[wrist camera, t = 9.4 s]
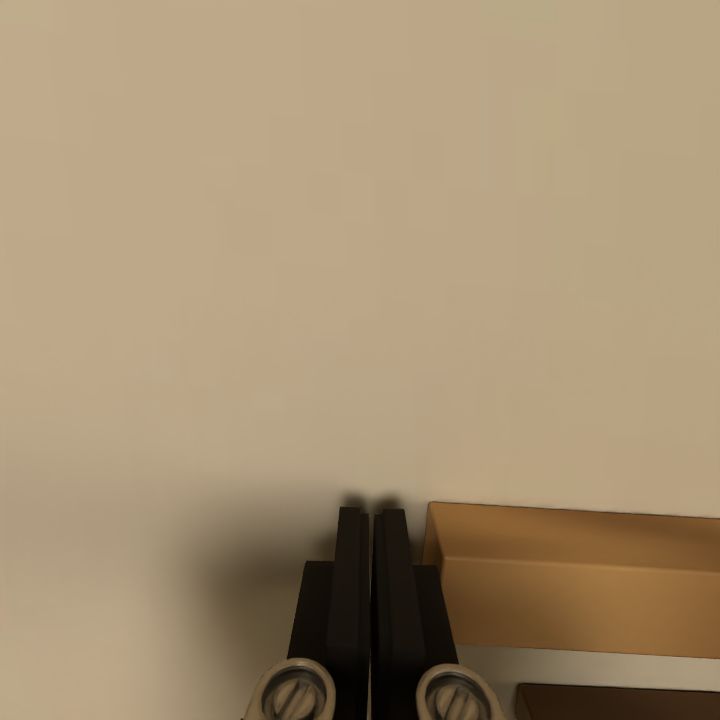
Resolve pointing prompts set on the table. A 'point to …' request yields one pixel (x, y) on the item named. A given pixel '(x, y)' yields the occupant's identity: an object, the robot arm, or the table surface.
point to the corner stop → (613, 704)
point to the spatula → (578, 579)
